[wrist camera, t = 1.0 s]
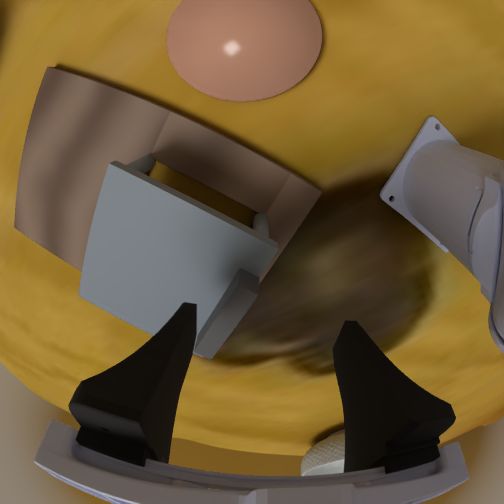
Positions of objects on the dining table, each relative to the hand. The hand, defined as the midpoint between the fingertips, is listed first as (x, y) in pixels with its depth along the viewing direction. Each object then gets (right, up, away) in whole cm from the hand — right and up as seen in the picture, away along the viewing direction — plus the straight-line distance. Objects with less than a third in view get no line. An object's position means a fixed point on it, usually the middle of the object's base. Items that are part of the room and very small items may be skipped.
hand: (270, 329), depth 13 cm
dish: (-1, +18, +1) cm, 18 cm away
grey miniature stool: (-6, +4, +7) cm, 10 cm away
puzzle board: (-10, +7, +7) cm, 15 cm away
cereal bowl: (+16, -28, +25) cm, 41 cm away
